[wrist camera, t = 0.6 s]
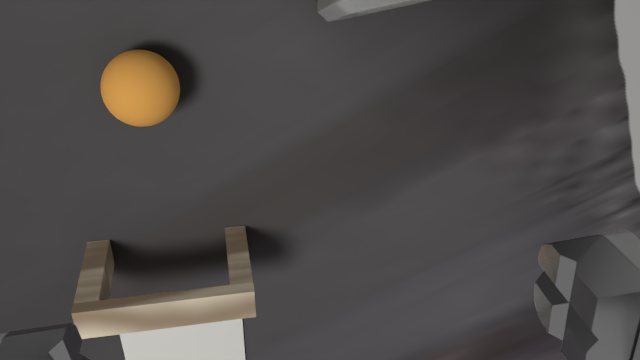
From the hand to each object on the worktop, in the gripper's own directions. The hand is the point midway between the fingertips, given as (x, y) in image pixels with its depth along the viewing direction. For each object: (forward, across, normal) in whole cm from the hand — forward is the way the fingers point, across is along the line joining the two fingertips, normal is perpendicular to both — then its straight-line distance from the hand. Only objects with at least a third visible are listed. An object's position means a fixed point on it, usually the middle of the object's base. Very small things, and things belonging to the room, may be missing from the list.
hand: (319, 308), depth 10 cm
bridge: (+42, +10, +27) cm, 51 cm away
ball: (+38, +9, +9) cm, 40 cm away
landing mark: (+43, +12, +43) cm, 62 cm away
